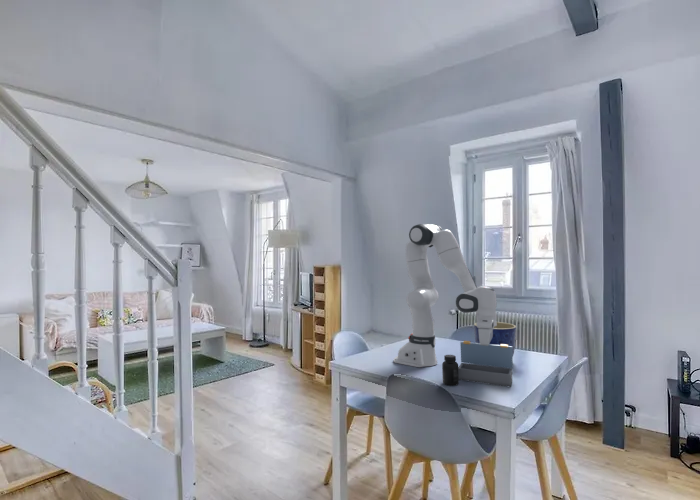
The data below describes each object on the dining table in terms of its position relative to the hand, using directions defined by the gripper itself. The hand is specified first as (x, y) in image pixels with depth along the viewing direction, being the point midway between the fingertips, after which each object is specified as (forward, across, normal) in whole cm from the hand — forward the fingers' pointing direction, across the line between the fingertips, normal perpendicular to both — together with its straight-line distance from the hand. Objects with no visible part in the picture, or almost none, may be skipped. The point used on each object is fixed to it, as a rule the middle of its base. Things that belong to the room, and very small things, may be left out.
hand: (486, 351), depth 180 cm
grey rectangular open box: (+11, +6, 0) cm, 13 cm away
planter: (+11, -26, +1) cm, 29 cm away
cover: (+1, +4, 0) cm, 5 cm away
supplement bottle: (+11, +18, -13) cm, 25 cm away
